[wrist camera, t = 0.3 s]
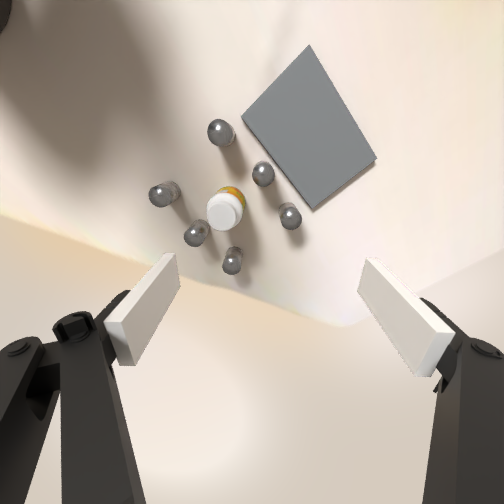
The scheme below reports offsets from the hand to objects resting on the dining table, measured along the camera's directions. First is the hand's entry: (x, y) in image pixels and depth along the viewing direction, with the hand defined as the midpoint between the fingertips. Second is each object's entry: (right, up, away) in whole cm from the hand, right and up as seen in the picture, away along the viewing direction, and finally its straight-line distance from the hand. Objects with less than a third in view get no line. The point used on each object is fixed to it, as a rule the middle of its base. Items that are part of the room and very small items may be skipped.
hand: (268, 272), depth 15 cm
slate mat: (+8, +19, +18) cm, 27 cm away
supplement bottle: (-5, +10, +23) cm, 26 cm away
